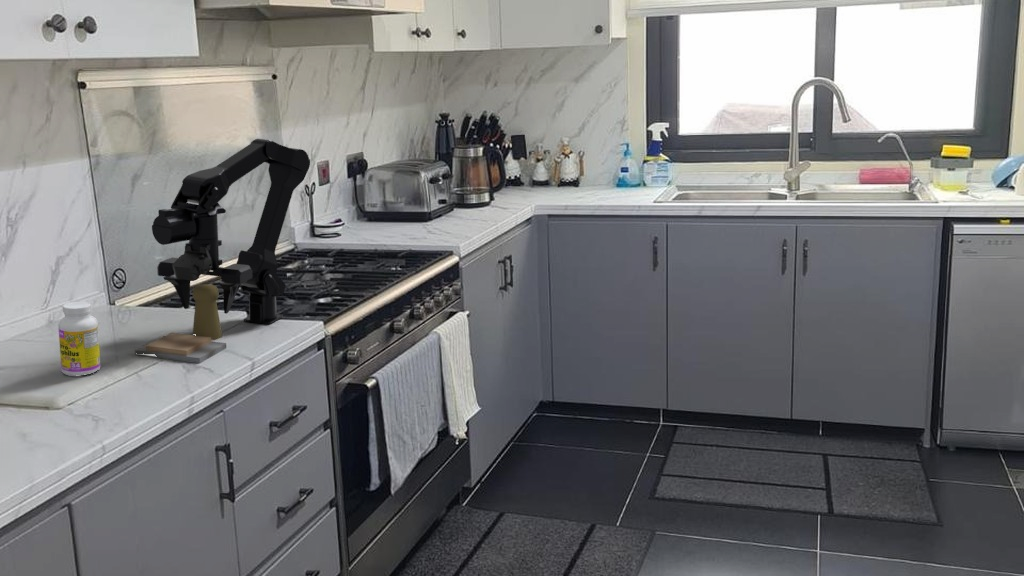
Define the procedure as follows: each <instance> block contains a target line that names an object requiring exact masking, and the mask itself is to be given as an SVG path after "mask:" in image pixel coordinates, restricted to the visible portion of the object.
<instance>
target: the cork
mask: <svg viewBox="0 0 1024 576" xmlns="http://www.w3.org/2000/svg"><path fill="white" fill-rule="evenodd" d="M219 292H220V291H219V289H218V287H217V286H216V285H214V284H209V283H207V284H206V283H203V284H198V285H196V286H195V287H193V289H192V297H193V300H194V302H195V304H194V305H195V306H194V314H193V315H194V316H193V324H192V325H193V326H192V334H196V336H203V337H211V341H215V340H218V339H221V338H222V337H223V332H222V327H221V321H220V316H219V309H218V305H217V300H218V299H219V295H220V294H219Z"/></svg>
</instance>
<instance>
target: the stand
mask: <svg viewBox="0 0 1024 576" xmlns="http://www.w3.org/2000/svg"><path fill="white" fill-rule="evenodd" d="M225 349H227V343H226V342H219V341H214V340H211V337H203V336H195V335H192V334H186V333H185V334H183V333H179V332H170V333H168V334H166V335H163V336H161V337H159V338H156V339H154V340H153V341H150V342H148V343H147V344H145V345H143V346H141V347H138V348H136V349H135V353H134V354H136V353H137V354H143V353H144V354H155V355H156V356H157V358H158V359H165V360H173V361H174V360H175V361H180V362H190V363H197V364H201V363H203V362H204V361H206V360H208V359H209V358H211V357H213V356H215V355H217V354H218V353H220V352H222V351H223V350H225ZM157 358H156V359H157Z"/></svg>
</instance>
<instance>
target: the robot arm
mask: <svg viewBox="0 0 1024 576" xmlns="http://www.w3.org/2000/svg"><path fill="white" fill-rule="evenodd" d="M264 163H266V164H268V175H269V179H270V186H269V189H268V192H267V196H266V198H265V199H266V200H265V203H264V207H263V210H262V212H261V216H260V218H259V222H258V225H257V228H256V233H255V235H254V240H253V242H252V245H251V246H249V248H248V249H247V250H240V251H239V253H238V257H237V261H236V263H232V264H230V265H228V266H225V267H223V266H222V265H223V259H221V258H220V254H219V253H220V250H219V249H220V248H219V247H221V246H222V245H223V244H222V243H223V242H222V240H221V239H219V229H218V228H219V225H218V223H219V222H218V215H221V214H225V213H227V210H226V209H225V208H224V207H222V206H221V204H219V202H220V201H221V200H223V198H224V197H226V195H227V194H228V193H229V190H230V187H231V186H232V185H233V184H235V183H236V182H237V181H239V180H240V179H242V178H243V177H245V176H247V175H248V174H249V173H250V172H252V171H254V170H256V168H258V167H259V166H261V165H262V164H264ZM310 166H311V159H310V157H309V154H308V153H307V152H306V151H305V149H301V148H293V147H288V146H284V145H282V144H280V143H277V142H275V141H274V140H272V139H264V138H256V139H253V140H252V141H251V142H250V143H249V144H248V145H246V146H244V148H242V149H240V150H239V151H237V152H236V153H234V154H233V155H231V156H229V157H228V158H227V159H225V160H223V161H222V162H220V163H219V164H218V165H216V166H214V167H211V168H206V169H202V170H198V171H196V172H193V173H191V174H188V175H186V176H185V177H184V178H183V179H182V182H181V183H182V184H181V186H180V188H179V190H178V192H177V194H176V196H175V198H174V200H173V202H172V204H171V206H170V209H167V208H162V209H158V216H156V217H155V218H154V220H153V223H152V226H151V231H152V236H153V238H154V240H155V241H156V242H157V243H158V244H160V245H163V246H165V245H171V244H176V243H182V242H186V241H188V242H186V243H185V245H184V252H183V254H181V255H180V256H178V257H169V258H167V259H164V260H161V261H160V262H159V263H158V265H157V267H156V269H157V271H156V272H157V276H159V277H163V280H165V281H168V283H170V284H171V285H173V287H174V289H175V291H176V294H177V295H178V297H179V300H180V302H181V305H182V306H183V309H184V310H187V309H189V308H190V302H191V299H190V298H191V282H194V281H197V280H198V279H200V276H201V275H204V276H212V277H220V279H221V280H222V283H220V284H219V285H220V286H221V289H222V291H223V294H222V296H223V297H222V298H223V313H224V314H226V315H227V314H228V313H229V312H230V310H231V307H232V305H233V302H234V299H235V298H236V295H237V293H238V291H239V289H240V291H241V292H246V293H249V295H248V297H249V301H248V303H249V304H248V305H249V310H248V311H249V315H248V316H246V317H245V318H243V322H246V323H247V322H248V323H256V324H266V325H272V324H273V323H275V322H276V321H278V320H280V319H281V318H283V314H282V313H281V314H280V313H277V297H280V296H281V295H283V294H284V293H285V290H286V285H287V284H286V283H285V282H284V281H283V280H282V279H281V278H280V277H279V276H278V275H277V273H278V272H277V271H278V267H279V265H278V261H277V257H276V248H277V246H278V242H279V239H280V236H281V233H282V229H283V226H284V223H285V219H286V216H287V212H288V209H289V206H290V203H291V200H292V196H293V193H294V191H295V189H296V188H298V187H299V185H300V184H301V183H303V182H304V180H305V178H306V176H307V173H308V171H309V169H310ZM221 266H222V267H221Z"/></svg>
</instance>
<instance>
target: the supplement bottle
mask: <svg viewBox="0 0 1024 576" xmlns="http://www.w3.org/2000/svg"><path fill="white" fill-rule="evenodd" d="M91 311H92V306H91V303H90V302H88V301H70V302H67V303H65V304H63V305H62V312H63V314H64V317H62V318H61V319H60V320H59V322H58V325H57V326H58V328H57V329H58V341H59V354H60V365H61V366H60V368H61V373H63V374H64V375H65V376H69V377H77V376H76V375H84V374H89V373H93V372H95V371H97V370H99V371H100V369H101V354H100V353H101V352H100V339H99V324H98V323H99V322H98V320H97V318H96V317H95V316H93V315H92V314H91ZM97 372H98V371H97ZM93 374H94V373H93Z"/></svg>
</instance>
